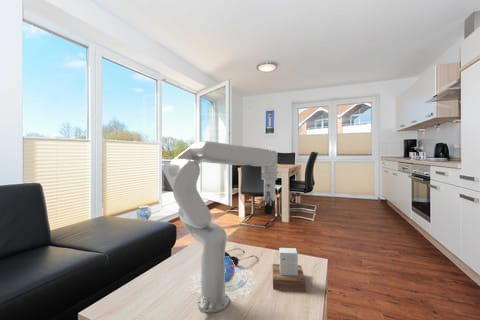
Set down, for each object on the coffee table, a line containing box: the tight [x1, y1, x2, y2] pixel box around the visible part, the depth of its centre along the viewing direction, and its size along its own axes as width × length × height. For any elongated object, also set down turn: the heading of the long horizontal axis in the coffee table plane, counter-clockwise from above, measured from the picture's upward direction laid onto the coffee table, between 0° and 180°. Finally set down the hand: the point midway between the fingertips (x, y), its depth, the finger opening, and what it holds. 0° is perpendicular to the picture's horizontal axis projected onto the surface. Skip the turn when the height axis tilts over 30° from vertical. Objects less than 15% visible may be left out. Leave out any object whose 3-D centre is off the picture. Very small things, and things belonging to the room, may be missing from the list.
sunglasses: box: [225, 248, 258, 267], centre depth 129 cm, size 14×16×5 cm
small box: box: [278, 247, 299, 276], centre depth 105 cm, size 8×6×10 cm
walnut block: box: [272, 263, 307, 292], centre depth 105 cm, size 14×14×5 cm
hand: (269, 211), depth 109 cm, fingers open, 9 cm apart
